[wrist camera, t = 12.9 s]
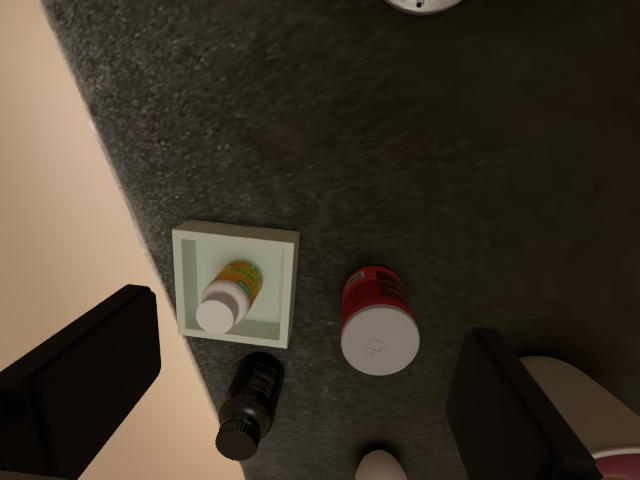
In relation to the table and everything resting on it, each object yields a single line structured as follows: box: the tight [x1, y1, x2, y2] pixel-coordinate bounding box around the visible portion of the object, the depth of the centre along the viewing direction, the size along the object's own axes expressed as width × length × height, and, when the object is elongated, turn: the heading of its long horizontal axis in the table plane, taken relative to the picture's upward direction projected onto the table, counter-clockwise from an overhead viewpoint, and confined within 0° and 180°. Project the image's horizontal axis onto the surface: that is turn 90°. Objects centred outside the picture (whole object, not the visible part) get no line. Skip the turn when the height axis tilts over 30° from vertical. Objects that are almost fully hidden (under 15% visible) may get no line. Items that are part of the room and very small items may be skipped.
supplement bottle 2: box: [215, 354, 284, 461], centre depth 42 cm, size 7×7×12 cm
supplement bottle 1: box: [196, 259, 263, 334], centre depth 38 cm, size 5×5×10 cm
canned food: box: [341, 265, 419, 375], centre depth 37 cm, size 8×8×11 cm
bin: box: [172, 219, 300, 349], centre depth 41 cm, size 14×14×4 cm
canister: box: [519, 356, 640, 480], centre depth 35 cm, size 18×18×21 cm
